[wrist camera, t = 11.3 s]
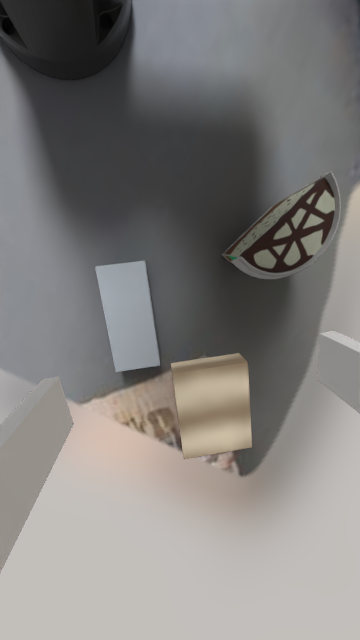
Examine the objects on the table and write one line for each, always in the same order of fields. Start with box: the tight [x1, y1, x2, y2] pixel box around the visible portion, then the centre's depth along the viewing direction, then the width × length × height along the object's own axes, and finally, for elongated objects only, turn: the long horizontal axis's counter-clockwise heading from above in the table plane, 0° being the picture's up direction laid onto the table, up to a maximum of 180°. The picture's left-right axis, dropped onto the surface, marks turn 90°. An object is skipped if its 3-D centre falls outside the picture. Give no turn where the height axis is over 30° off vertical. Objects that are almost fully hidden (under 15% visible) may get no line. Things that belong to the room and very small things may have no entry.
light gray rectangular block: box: [95, 261, 160, 372], centre depth 31 cm, size 14×6×3 cm, turn 7°
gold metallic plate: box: [171, 353, 252, 459], centre depth 30 cm, size 12×9×3 cm
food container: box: [222, 171, 341, 279], centre depth 28 cm, size 12×6×10 cm, turn 134°
